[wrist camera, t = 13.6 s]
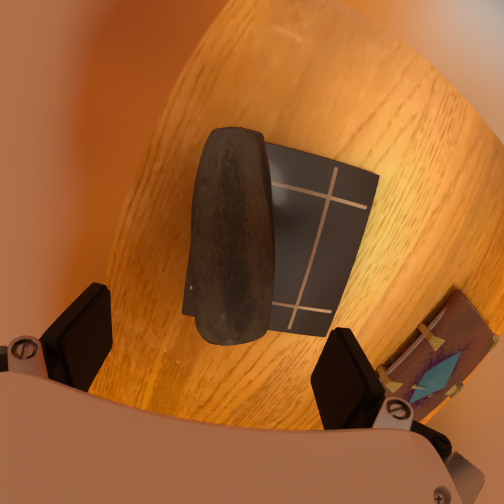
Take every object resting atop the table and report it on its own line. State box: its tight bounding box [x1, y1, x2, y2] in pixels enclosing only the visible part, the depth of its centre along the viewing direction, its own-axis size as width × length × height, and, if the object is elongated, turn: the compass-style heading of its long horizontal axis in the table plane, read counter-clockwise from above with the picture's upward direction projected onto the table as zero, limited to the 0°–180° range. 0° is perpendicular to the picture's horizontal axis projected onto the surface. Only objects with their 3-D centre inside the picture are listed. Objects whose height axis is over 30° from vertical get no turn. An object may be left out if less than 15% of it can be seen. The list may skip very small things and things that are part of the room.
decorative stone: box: [191, 127, 275, 346], centre depth 20 cm, size 17×6×4 cm, turn 178°
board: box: [182, 142, 380, 337], centre depth 23 cm, size 14×16×1 cm
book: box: [377, 290, 500, 422], centre depth 29 cm, size 16×25×5 cm, turn 145°
